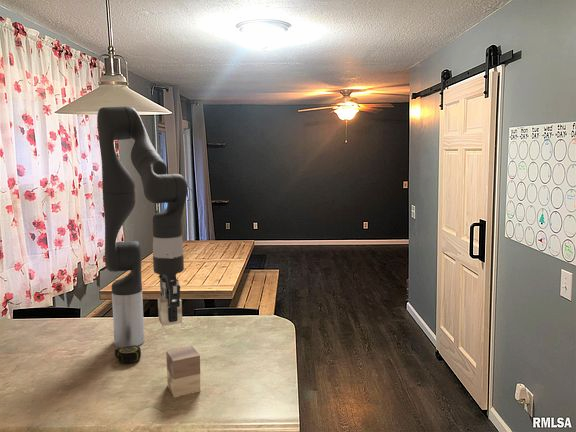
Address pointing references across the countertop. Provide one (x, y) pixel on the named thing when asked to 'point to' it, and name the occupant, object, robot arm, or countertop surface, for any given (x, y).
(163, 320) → the maple block
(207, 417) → the countertop surface
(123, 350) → the tape measure
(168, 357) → the walnut slab
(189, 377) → the tan wooden block
